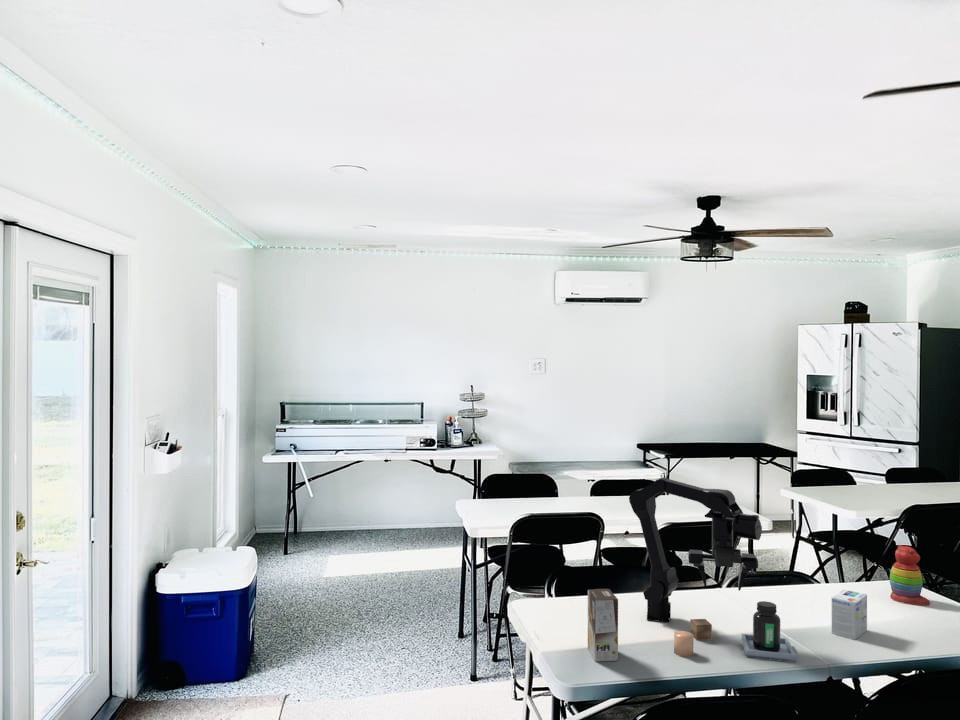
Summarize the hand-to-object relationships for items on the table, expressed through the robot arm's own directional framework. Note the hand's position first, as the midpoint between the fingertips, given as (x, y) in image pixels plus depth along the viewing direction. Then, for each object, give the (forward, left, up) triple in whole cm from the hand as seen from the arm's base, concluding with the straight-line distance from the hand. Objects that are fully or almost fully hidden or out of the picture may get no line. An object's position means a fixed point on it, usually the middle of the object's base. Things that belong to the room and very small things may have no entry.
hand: (722, 588), depth 198 cm
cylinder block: (-11, -17, -13) cm, 24 cm away
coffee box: (-32, -24, -13) cm, 42 cm away
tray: (+11, -9, -13) cm, 19 cm away
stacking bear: (+62, +49, -13) cm, 80 cm away
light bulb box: (+36, +12, -13) cm, 40 cm away
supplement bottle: (+11, -9, -13) cm, 19 cm away
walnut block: (-6, -4, -13) cm, 15 cm away
